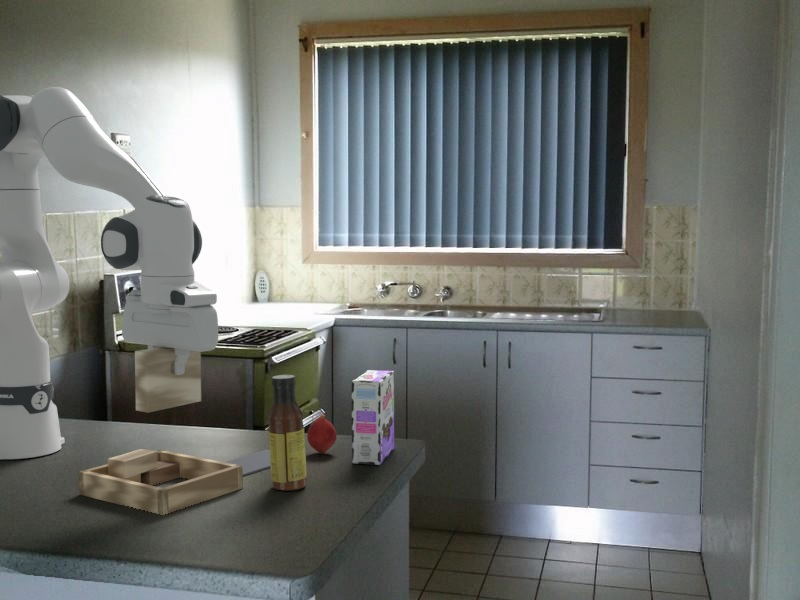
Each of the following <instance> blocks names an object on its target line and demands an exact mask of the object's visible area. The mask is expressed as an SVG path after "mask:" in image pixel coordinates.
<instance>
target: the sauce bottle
mask: <svg viewBox="0 0 800 600" xmlns="http://www.w3.org/2000/svg"><path fill="white" fill-rule="evenodd" d="M271 384H272V388H273V403H272V405H271V407H270V408H269V409H270V410H269V411H268V416H267V418H268V443H269V444H268V445H269V446H268V447H269V450H270V465H271V468H270V479H271V484H272V487H273V488H274V489H275V490H277V491H284V492H285V491H286V492H290V491H298V490H301V489H304V488H305V487H306V485H307V476H308V475H307V460H306V459H307V458H306V457H307V456H306V441H305V439H306V438H305V427H304V422H303V420H304V419H303V411H302V410H301V408H300V406H299V404H298V402H297V400H296V392H295V391H296V390H295V389H296V387H295V386H296V376H295V375H294V374H279V375H274V376H271Z"/></svg>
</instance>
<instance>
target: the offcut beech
mask: <svg viewBox="0 0 800 600" xmlns="http://www.w3.org/2000/svg"><path fill="white" fill-rule="evenodd" d="M157 451H158V450H152V449H144V448H139V449H135V450H133V451H129V452H126V453H123V454H119V455H116V456H113V457H109V458H107V464H108V476H113V477H119V478H125V479H126V478H129V477H132V476H135V475H138V474H141V473H144V472H147V471H149V470H152V469H155V468H158V459H157Z"/></svg>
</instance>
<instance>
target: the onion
mask: <svg viewBox="0 0 800 600" xmlns="http://www.w3.org/2000/svg"><path fill="white" fill-rule="evenodd" d="M306 438H307V442H308V444H309V446H310V447H311V448H312V449H313V450H315V451H316V452H318V453H319V454H322V455H323V454H326V453H327V451H328V450H330V449H331V448H332V447H333V446H334V445H335V443H336V442H337V431H336V428H335V427H334V425H333V424H332V422H330V421H329V420H328V419H326V415H325V414H320V416H319V417H318V418H317V419H316V420H315V421H313V422H312V423H311V424H310V426H309V427H308V430H307V435H306Z"/></svg>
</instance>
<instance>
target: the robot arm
mask: <svg viewBox="0 0 800 600" xmlns="http://www.w3.org/2000/svg"><path fill="white" fill-rule="evenodd" d="M44 156H45V157H46V159H47V160H48V162H49V164H50V165H51V167H52V168H54V170H55V171H56V172H57V173H58V174H59V175H60V176H62V177H63V178H64V179H66V180H67V181H69V182H72V183H75V184H77V185H83V186H86V187H91V188H95V189H100V190H104V191H107V192H108V193H109V192H110V193H113V194H115V195H117V196H119V197H121V198H123V199H125V200H126V201H127V202H128V203H129V204H130V205H131V206H132V207H133V210H130V212H127V213H124V214H122V215H119V216H115V217H113V218H111V219H109V220H108V222H107V223H106V224H105V226H104V227H103V230H102V232H101V235H100V249H101V253H102V255H103V257H104V259H105V261H106V262H107V263H108V264H109V266H111V267H112V268H113V269H116V270H119V271H120V270H121V271H140V290H139V289H132V290H131V291H130V292H129V293H128V294H127V296H126V298H125V304H124V309H123V314H122V322H121V324H122V325H121V336H122V338H123V341H124V342H125V343H128V344H129V343H130V344H138V345H146V346H147V349H152V348H159V347H167V348H175V355H177V358H176V360H175V363H174V364H171V369H172V370H171V373H172V374H175V375H182V374H184V372H185V363H186V361H187V359H188V357H189V355H190V351H198V352H201V353H202V352H211V351H213V350H215V349H216V347H217V346H218V343H219V323H218V322H219V320H218V314H217V313H218V312H217V310H216V308H215V307H214V306H213V305H215V304H217V300H218V297H217V292H216V291H214V290H212V289H211V288H209V287H206V286H204V285H203V284H202V283H199V282H198V281H195V270H194V266H193V264H195V262H196V261H197V260H198V258H199V256H200V254H201V252H202V247H203V237H202V234H201V233H202V232H201V231H200V228H199V227H198V224H197V223H196V222H195V221H194V219H193V214H192V211H191V207H190V205H189V203H188V202H186V201H185V200H184V199H181V198H179V197H174V196H167V195H166V193H165V192H164V191H163V190H162V188H161V187H160V186H159V185H158V184H157V182H156V181H155V180H154V179H153V178H152V177H151V175H150V173H148V172H147V170H146V169H145V168H144V167H143V166H142V165H141V164H140V163H139V162H138V161H137V160H136V159H134V158H133V157H132V156H131V155H129V154H128V153H126V152H125V151H124V150H123V149H122V148H120V147H119V146H118V145H117V144H116V143H115V142H114V141H113V140H112V139H111V138H110V137H109V136H108V135H107V134H106V132H105V131H104V130H103V129H102V127H101V126H100V125H99V123H98V122H97V120H96V118H95V117H94V115H92V113H91V112H90V110H89V109H88V108H87V107H86V105H85V104H84V103H83V102H82V101H81V100H80V98H78V97H77V96H76V95H75V93H73V92H72V91H71V90H69V89H67V88H64V87H61V86H49V87H46V88H43V89H42V90H39V91H38V92H36V93H35V94H33V95H32V94H25V95H17V94H15V95H10V94H9V95H1V94H0V255H1V256H0V257H1V260H2V261H0V460H21V459H29V458H37V457H42V456H47V455H50V454H54V453H56V452H58V451H59V450H61V449H62V445H63V444H65V443H66V440H65V437H63V436H61V427H60V420H59V415H58V407H57V405H56V403H54V402H53V399H54V392H55V391H54V386H53V384H54V383H53V380H52V379H51V367H50V366H51V363H50V361H51V360H50V345H49V343H48V341H47V340H46V338H44V337H43V336H41V335H40V333H39V331H38V330H37V328H36V325H35V322H34V318H33V313H39V312H45V311H48V310H49V309H52V308H54V307H55V306H58V305H59V304H61V303H62V302H63V301H65V300H66V298H67V296H68V295H69V291H70V279H69V275H68V273H67V271H66V270H65V268H64V267H63V266H62V265H61V264H60V263H59V262H58V261H57V260H56V258H55V256H54V254H53V252H52V250H51V247H50V245H49V242H48V239H47V235H46V232H45V228H44V222H43V212H42V210H43V209H42V201H41V199H42V198H41V187H40V178H39V169H38V167H39V163H40V161H41V159H42V157H44Z"/></svg>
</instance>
